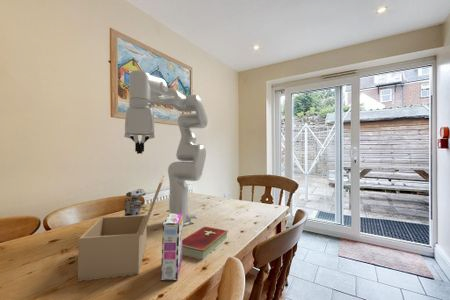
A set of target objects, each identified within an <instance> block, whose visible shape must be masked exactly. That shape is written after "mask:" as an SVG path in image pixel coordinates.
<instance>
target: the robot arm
mask: <svg viewBox="0 0 450 300" xmlns="http://www.w3.org/2000/svg"><path fill="white" fill-rule="evenodd" d="M128 81H129V85H128V86H129V91H128V92H129V97H128V98H129V100H128V105H129V106H128V107H127V108H126V113H125V121H124V135H123V137H124V138H126V139H131V140H132V141H133V143H134V145H135V146H134V148H135V149H134V152H136V154H138V155H139V154H143V153H144V152H145V143H146V142H147V141H148V140H151V139H155V138H156V137H155V118H154V117H155V116H154V111H153V110H154V109H152V108H153V107H155V106H156V105H162V106H167V107H170V108H172V109H175V110H177V111H179V112H183V113H181V114H180V115H179V116H178V117H177V125H178V128H179V131H180V141H179V143H178V147H177V150H176V154H175V155H176V159H177V160H178V161H173V162H171V163H170V164H169V165H168V168H167V173H168V174H167V175H168V179H169V180H168V181H169V199H168V200H169V201H168V202H169V205H168V207H169V208H168V209H169V211H168V215H169V214H174V213H180V214H183V227H186V226H188V225H190V224H191V223H192V222H191V221H192V220H197V219H198V215H197V214H190V212H189V186H188V184H187V182H197V181H200V179H201V178H202V175H203V170H204V167H205V162H206V157H207V149H206V147H205V146H204V145H203V144H200V143H196V142H197V136H196V135H195V133H194V132H193V131H192V129H204V128H206V127H207V125H208V121H209V120H208V116H207V115H208V114H207V112H206V109H205V106H204V103H203V101H202V99H201V97H200V96H199V95H197V94H183V93H181V92H180V91H178V90H177V89H175V88H172V87H168V84H167V82H166V81H165V80H164V79H163V78H161V77H159V76H155V75H152V74H150V73H149V72H147V71H145V70H138V69H137V70H131V71H130V73H129V80H128ZM155 104H156V105H155ZM185 112H188V113H185ZM189 112H190V113H189ZM191 112H192V113H191ZM193 112H194V113H193ZM139 136H141V139H140V140H139ZM186 181H187V182H186Z"/></svg>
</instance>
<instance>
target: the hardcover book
mask: <svg viewBox="0 0 450 300" xmlns="http://www.w3.org/2000/svg"><path fill="white" fill-rule="evenodd" d="M228 232H229V230H228V229H222V228H216V227H211V226H203V227H202V228H201V227H200V229H198V230H197V231H194V232H193V233H191V234H190V235H188V236H186V237H184V238H182V256H185V255H187V256H186V257H189V256H190V257H189V258H192V257H195V258H194V259H196V258H198V259H197V260H200V259H203V258H204V259H206V258H207V257H208V256H209V255H210V254H211V253H212V252H214V251H215V250H216V249H217V248H218V247H219V246H220V245H222V244H223V243H224V242H225V241H226V240H227V239H228V235H227V234H228ZM226 238H227V239H226ZM225 239H226V240H225ZM224 240H225V241H224ZM223 241H224V242H223ZM222 242H223V243H222ZM221 243H222V244H221ZM219 244H220V245H219ZM218 245H219V246H218ZM217 246H218V247H217ZM216 247H217V248H216ZM215 248H216V249H215ZM214 249H215V250H214ZM213 250H214V251H213ZM210 252H211V253H210ZM209 253H210V254H209ZM208 254H209V255H208ZM207 255H208V256H207ZM206 256H207V257H206ZM205 257H206V258H205ZM204 259H203V260H204Z"/></svg>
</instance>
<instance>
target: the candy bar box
mask: <svg viewBox="0 0 450 300" xmlns="http://www.w3.org/2000/svg"><path fill="white" fill-rule="evenodd" d="M183 229H184V226H183V214H180V213H174V214H169V213H168V215H167V217H166V219H165V220H164V221H163V223H162V238H161V239H162V242H161V243H162V244H161V245H162V246H161V249H162V250H161V268H160V269H161V271H160V272H161V274H160V281H161V280H177V281H178V279H179V274H180V269H181V265H182V261H183V255H182V240H183V235H184V234H183V233H184V232H183V231H184V230H183Z"/></svg>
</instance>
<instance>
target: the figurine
mask: <svg viewBox="0 0 450 300" xmlns="http://www.w3.org/2000/svg"><path fill="white" fill-rule="evenodd" d="M146 194H147V193H146V191H145V189H143V188H138V189H134V190H131V191H128V192H127V193H125V196H126V197H128V198H126V199H125V200H124V201H123V207H125V208H124V215H123V216H137V215H141V209H143V210H146V209H147V206H143V201H141V200H140V197H144V196H146ZM129 198H131V199H129Z"/></svg>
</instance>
